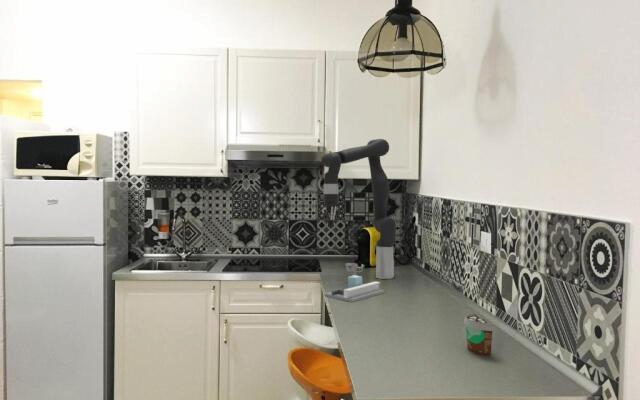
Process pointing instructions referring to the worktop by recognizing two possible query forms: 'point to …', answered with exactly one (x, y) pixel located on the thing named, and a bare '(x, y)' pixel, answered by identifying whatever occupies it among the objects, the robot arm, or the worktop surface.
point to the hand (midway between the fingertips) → (330, 227)
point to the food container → (478, 334)
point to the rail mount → (356, 292)
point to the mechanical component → (353, 268)
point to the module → (354, 281)
